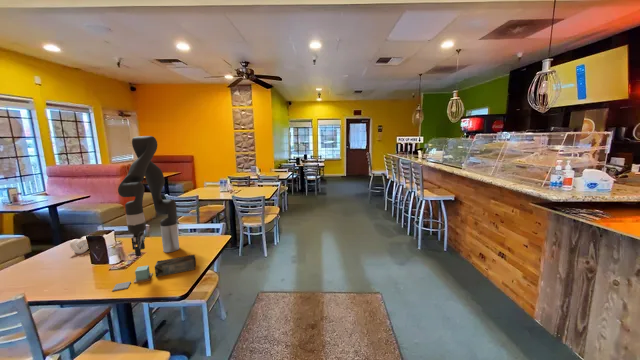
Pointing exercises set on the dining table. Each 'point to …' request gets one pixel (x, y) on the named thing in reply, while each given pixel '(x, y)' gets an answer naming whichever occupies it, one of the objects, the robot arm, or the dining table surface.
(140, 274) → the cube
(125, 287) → the pad
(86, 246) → the white crumpled lump
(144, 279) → the pad
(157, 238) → the dining table surface
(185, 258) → the beverage carton
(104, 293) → the dining table surface
